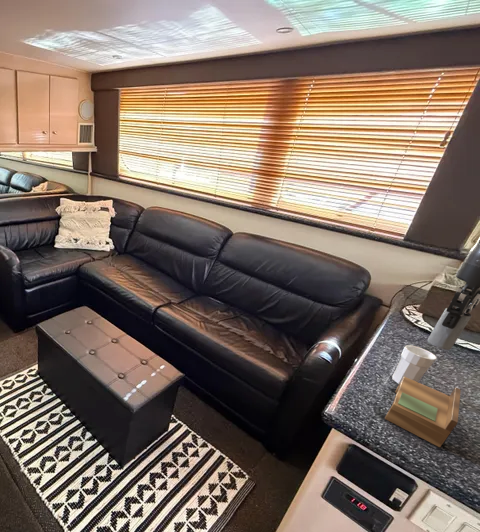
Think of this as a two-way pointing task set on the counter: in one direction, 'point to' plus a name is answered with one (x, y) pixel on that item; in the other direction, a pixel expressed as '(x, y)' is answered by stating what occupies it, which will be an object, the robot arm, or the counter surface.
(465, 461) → the counter surface
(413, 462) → the counter surface
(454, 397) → the green-lined wooden tray
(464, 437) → the counter surface
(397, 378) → the cup
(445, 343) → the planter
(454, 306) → the robot arm
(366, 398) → the counter surface
